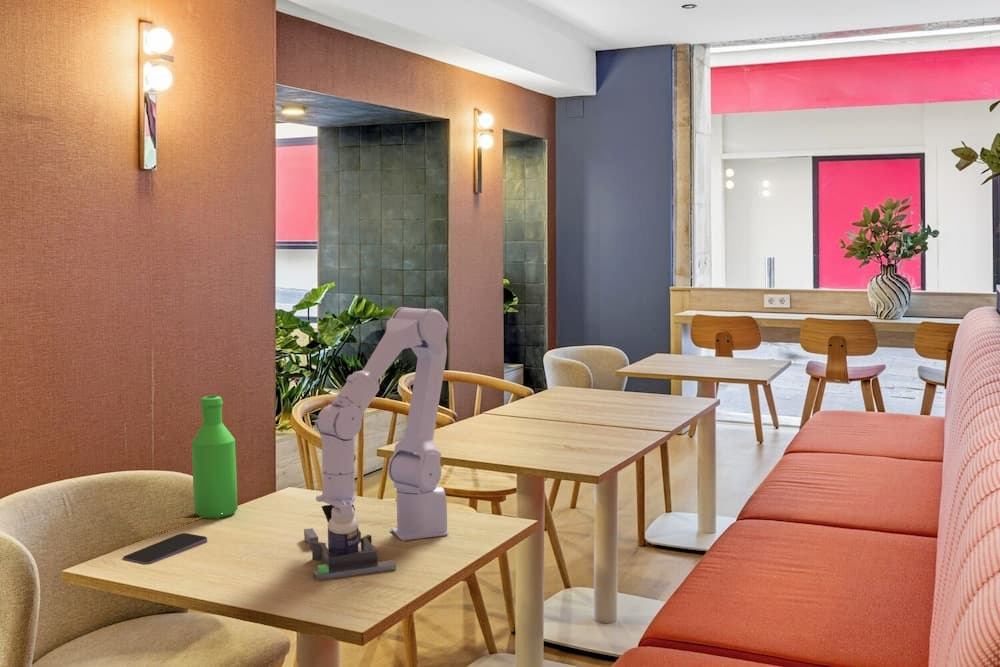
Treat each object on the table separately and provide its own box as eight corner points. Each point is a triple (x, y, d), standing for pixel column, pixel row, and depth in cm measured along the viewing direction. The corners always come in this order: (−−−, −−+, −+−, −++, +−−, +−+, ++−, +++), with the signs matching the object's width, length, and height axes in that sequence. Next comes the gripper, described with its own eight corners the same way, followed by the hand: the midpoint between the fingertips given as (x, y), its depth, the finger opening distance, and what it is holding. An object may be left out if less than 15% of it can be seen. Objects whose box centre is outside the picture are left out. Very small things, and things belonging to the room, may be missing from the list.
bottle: (197, 522, 201) (191, 401, 198) (192, 511, 209) (187, 395, 206) (241, 516, 204) (236, 398, 202) (234, 506, 212) (230, 392, 210)
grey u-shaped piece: (354, 533, 192) (353, 523, 192) (361, 542, 186) (360, 531, 186) (304, 539, 188) (304, 529, 188) (309, 548, 183) (309, 538, 183)
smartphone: (119, 557, 178) (182, 532, 191) (120, 563, 179) (182, 537, 192) (148, 563, 175) (209, 537, 188) (148, 569, 175) (210, 542, 188)
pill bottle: (352, 567, 174) (351, 520, 170) (323, 562, 175) (322, 515, 171) (362, 550, 178) (362, 504, 175) (335, 545, 179) (334, 499, 176)
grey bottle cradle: (379, 549, 182) (378, 533, 182) (396, 569, 171) (395, 553, 170) (303, 559, 177) (302, 542, 177) (315, 580, 166) (315, 563, 165)
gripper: (309, 464, 182) (309, 535, 184) (323, 482, 169) (323, 559, 170) (347, 461, 185) (347, 531, 186) (363, 479, 171) (363, 555, 173)
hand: (338, 544), depth 178 cm, fingers closed, pressing on pill bottle
